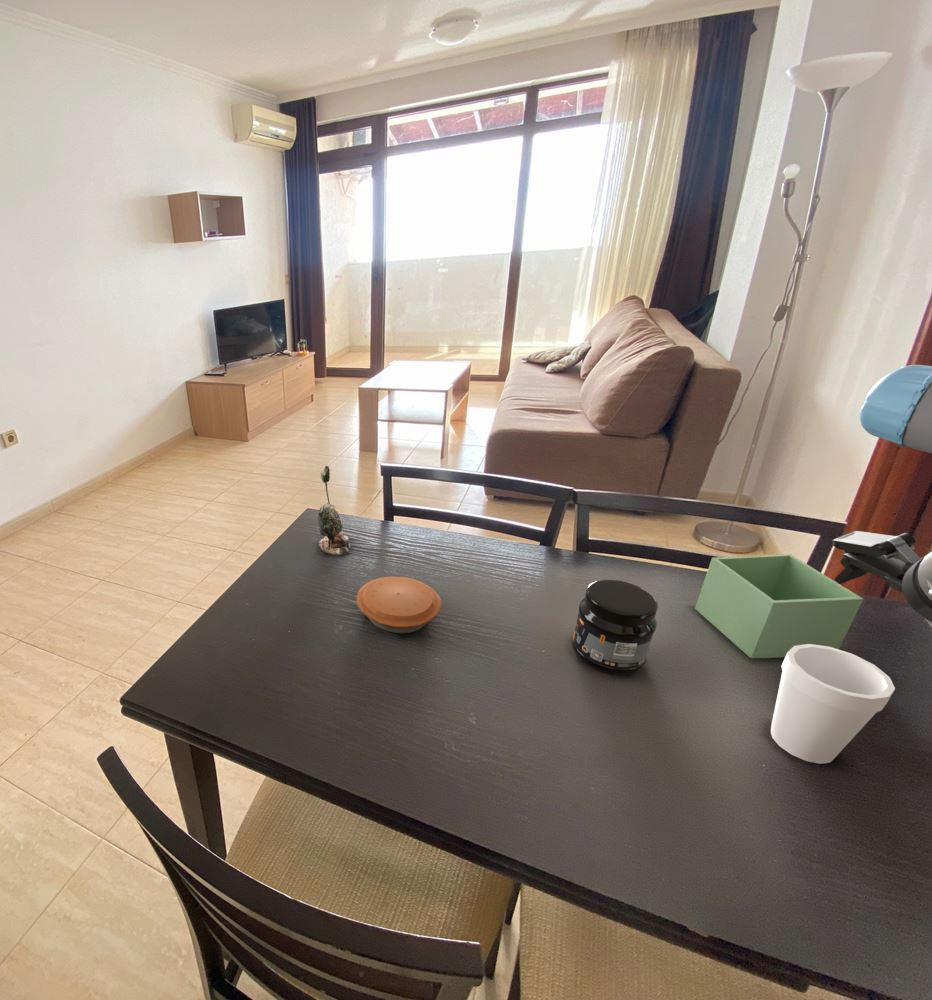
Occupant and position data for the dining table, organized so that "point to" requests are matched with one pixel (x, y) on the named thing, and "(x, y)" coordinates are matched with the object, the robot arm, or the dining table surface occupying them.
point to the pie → (398, 603)
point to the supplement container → (615, 626)
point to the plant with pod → (331, 525)
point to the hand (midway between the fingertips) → (897, 627)
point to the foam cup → (825, 701)
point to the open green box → (775, 604)
